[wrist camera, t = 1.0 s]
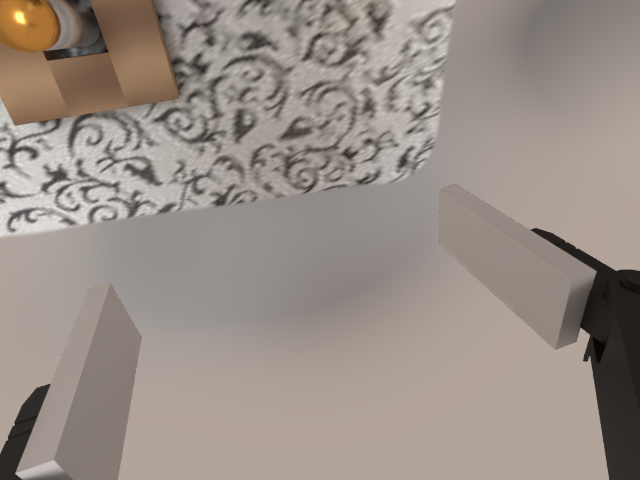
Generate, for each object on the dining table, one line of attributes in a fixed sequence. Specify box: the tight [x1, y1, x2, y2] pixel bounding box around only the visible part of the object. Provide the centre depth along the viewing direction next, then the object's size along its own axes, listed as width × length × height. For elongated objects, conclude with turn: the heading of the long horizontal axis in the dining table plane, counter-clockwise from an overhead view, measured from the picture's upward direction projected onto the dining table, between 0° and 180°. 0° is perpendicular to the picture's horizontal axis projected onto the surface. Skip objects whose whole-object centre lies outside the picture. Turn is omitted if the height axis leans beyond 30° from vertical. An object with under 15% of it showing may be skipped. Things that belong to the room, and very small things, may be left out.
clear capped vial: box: [0, 0, 100, 52], centre depth 25 cm, size 3×3×12 cm
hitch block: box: [0, 0, 180, 126], centre depth 28 cm, size 12×12×4 cm
